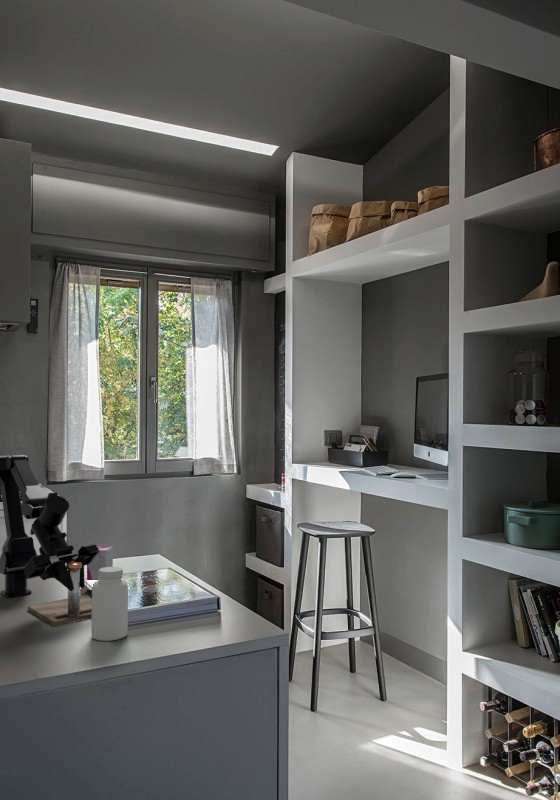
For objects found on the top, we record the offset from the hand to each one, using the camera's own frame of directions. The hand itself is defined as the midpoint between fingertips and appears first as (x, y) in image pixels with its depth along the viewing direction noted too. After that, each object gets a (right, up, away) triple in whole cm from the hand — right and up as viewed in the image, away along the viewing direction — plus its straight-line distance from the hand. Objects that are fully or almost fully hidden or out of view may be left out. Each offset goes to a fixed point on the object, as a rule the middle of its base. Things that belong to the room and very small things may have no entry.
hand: (77, 588), depth 160 cm
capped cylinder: (-1, -7, +1) cm, 8 cm away
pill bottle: (+11, -8, -11) cm, 17 cm away
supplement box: (-2, -8, +28) cm, 29 cm away
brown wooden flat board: (-4, -8, +7) cm, 11 cm away
